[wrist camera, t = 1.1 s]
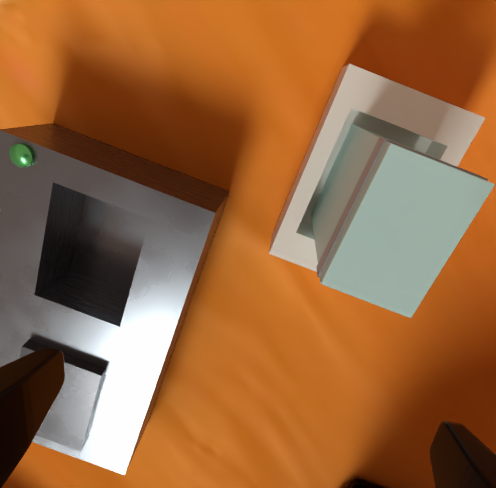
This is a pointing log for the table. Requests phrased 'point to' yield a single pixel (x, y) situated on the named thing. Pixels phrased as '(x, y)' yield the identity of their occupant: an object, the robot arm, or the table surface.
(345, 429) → the table surface
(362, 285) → the plug
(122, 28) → the table surface
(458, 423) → the robot arm
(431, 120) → the light grey tray
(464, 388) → the table surface
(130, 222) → the panel
